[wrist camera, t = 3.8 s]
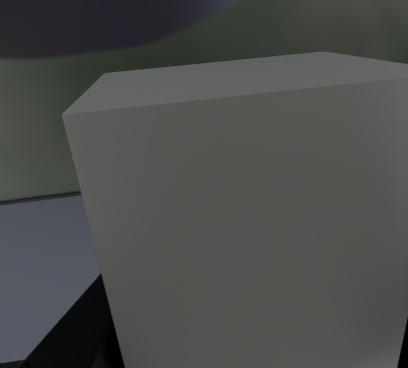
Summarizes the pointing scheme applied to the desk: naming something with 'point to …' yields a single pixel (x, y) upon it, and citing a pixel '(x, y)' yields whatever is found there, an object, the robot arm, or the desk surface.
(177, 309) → the card deck box
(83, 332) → the robot arm
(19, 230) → the desk mat
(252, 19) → the desk surface
